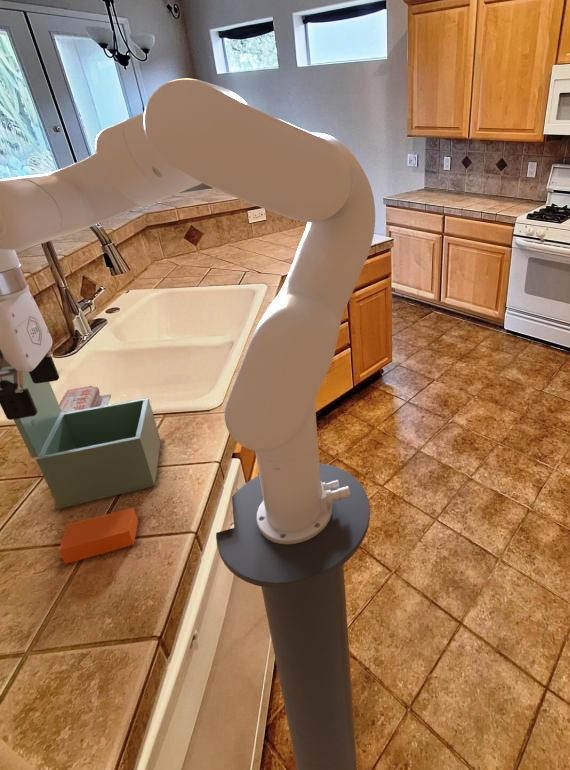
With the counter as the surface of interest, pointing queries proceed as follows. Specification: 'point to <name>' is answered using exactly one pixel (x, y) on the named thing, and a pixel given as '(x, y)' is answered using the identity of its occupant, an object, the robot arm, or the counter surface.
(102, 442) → the bin
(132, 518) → the block
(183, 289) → the counter surface
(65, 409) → the packaged product
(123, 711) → the counter surface
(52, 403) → the bin lid
